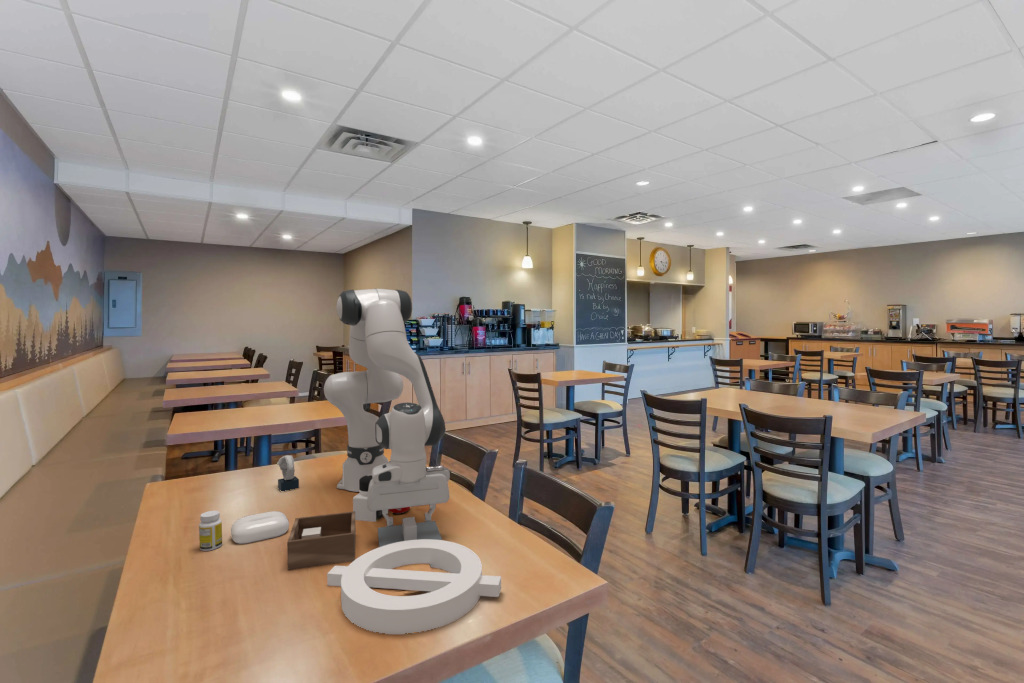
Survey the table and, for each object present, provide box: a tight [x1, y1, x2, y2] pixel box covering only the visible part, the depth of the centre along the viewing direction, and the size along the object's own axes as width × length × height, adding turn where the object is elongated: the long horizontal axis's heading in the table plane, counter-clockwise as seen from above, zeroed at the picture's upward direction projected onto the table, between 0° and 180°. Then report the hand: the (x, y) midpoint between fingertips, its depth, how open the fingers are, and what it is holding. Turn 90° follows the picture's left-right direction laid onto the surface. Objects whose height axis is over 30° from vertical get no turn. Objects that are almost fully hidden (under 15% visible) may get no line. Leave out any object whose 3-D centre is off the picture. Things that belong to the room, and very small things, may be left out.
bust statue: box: [276, 454, 300, 492], centre depth 161 cm, size 6×8×11 cm
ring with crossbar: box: [326, 539, 502, 635], centre depth 99 cm, size 28×28×5 cm
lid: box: [377, 516, 443, 548], centre depth 121 cm, size 15×15×5 cm
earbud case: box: [230, 510, 290, 545], centre depth 125 cm, size 10×13×5 cm
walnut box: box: [286, 510, 357, 571], centre depth 114 cm, size 14×14×7 cm
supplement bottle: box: [198, 510, 223, 552], centre depth 119 cm, size 5×5×8 cm
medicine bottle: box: [352, 475, 384, 523], centre depth 136 cm, size 7×7×12 cm
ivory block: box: [302, 527, 321, 539], centre depth 116 cm, size 4×4×4 cm
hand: (409, 523), depth 121 cm, fingers open, 8 cm apart
